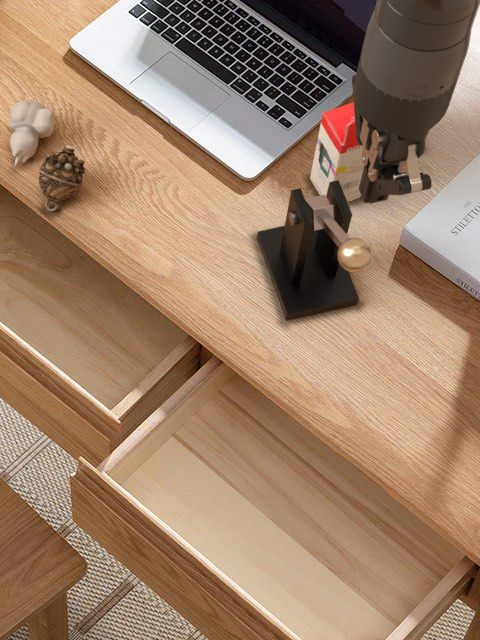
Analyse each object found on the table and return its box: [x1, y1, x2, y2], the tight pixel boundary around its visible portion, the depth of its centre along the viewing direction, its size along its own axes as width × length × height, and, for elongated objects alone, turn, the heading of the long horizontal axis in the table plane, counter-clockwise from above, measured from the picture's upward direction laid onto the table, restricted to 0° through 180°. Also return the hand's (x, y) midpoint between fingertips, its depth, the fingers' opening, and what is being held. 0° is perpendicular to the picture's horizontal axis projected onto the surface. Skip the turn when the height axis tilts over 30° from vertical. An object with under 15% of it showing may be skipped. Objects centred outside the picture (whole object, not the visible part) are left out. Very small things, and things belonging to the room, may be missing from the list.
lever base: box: [256, 180, 360, 321], centre depth 130 cm, size 11×8×13 cm
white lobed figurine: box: [9, 99, 55, 167], centre depth 143 cm, size 5×7×8 cm
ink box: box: [309, 101, 364, 203], centre depth 134 cm, size 8×5×15 cm, turn 111°
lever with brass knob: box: [305, 194, 373, 273], centre depth 122 cm, size 13×3×3 cm, turn 13°
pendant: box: [38, 145, 86, 213], centre depth 140 cm, size 5×8×5 cm
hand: (372, 194), depth 109 cm, fingers closed
